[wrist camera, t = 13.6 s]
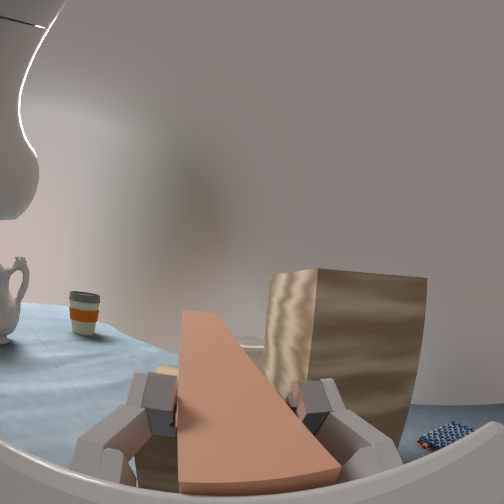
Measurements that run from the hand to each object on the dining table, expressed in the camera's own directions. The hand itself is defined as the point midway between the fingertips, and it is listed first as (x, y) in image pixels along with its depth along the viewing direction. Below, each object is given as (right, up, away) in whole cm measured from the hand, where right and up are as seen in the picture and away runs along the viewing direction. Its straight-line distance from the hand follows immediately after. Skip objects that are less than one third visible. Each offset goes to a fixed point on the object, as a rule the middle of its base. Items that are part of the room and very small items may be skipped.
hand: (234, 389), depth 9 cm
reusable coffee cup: (-63, -25, +79) cm, 104 cm away
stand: (+8, -23, +17) cm, 30 cm away
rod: (-3, -5, +9) cm, 10 cm away
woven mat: (+33, -26, +18) cm, 46 cm away
